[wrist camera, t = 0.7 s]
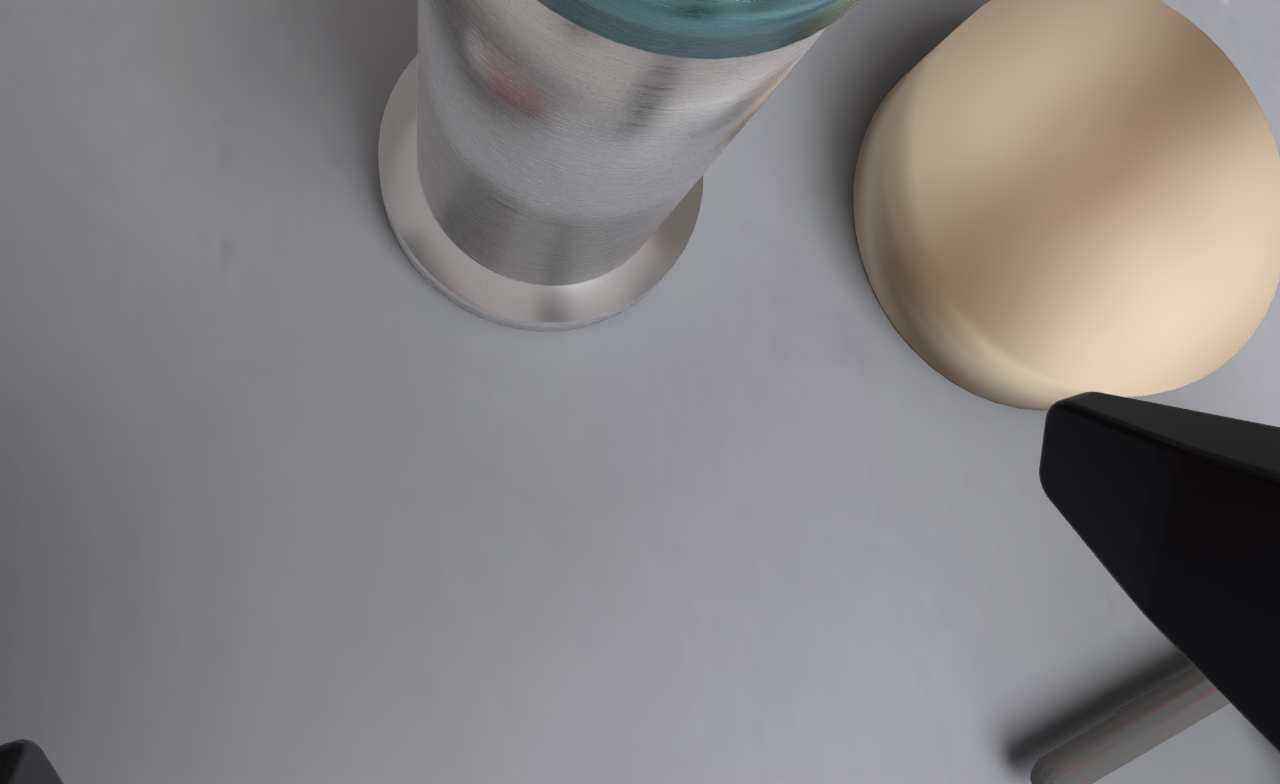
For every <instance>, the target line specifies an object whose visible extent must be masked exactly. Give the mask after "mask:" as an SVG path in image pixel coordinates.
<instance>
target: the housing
mask: <svg viewBox="0 0 1280 784" xmlns="http://www.w3.org/2000/svg"><path fill="white" fill-rule="evenodd" d="M859 1H860V0H418V54H417V55H416V56H415V57H414V58H413V59H412V61H411V62H410V63H409V64H408V66H407V67H406V68H405V69H404V71H403V72H402V74H401V76H400V77H399V79H398V81H397V82H396V84H395V86H394V88H393V89H392V92H391V94H390V97H389V99H388V102H387V104H386V107H385V110H384V114H383V118H382V122H381V126H380V133H379V144H378V161H379V176H380V186H381V192H382V197H383V202H384V208H385V211H386V214H387V217H388V220H389V223H390V226H391V228H392V230H393V232H394V234H395V236H396V238H397V240H398V242H399V244H400V247H401V248H402V250H403V251H404V253H405V254H406V256H407V257H408V259H409V260H410V262H411V263H412V264H413V266H414V267H415V268H416V269H417V270H418V271H419V273H420V274H421V275H422V276H423V277H424V278H425V279H426V281H428V282H429V283H430V284H431V285H432V286H433V287H434V288H435V289H437V290H438V291H439V292H440V293H441V294H442V295H443V296H445V297H446V298H448V299H449V300H451V301H452V302H454V303H455V304H457V305H458V306H460V307H461V308H463V309H465V310H467V311H469V312H471V313H473V314H475V315H477V316H479V317H481V318H484V319H486V320H489V321H492V322H495V323H497V324H500V325H505V326H509V327H514V328H518V329H525V330H536V331H558V330H567V329H573V328H579V327H584V326H587V325H590V324H594V323H597V322H600V321H603V320H605V319H607V318H609V317H611V316H613V315H616V314H618V313H620V312H621V311H623V310H624V309H626V308H628V307H629V306H631V305H632V304H634V303H635V302H637V301H638V300H639V299H640V298H641V297H642V296H644V295H645V294H646V293H647V292H648V291H649V290H650V289H652V288H653V287H654V286H655V285H656V284H657V283H658V282H659V281H660V280H661V279H662V278H663V276H664V275H665V274H666V273H667V272H668V271H669V270H670V269H671V267H672V266H673V265H674V264H675V262H676V261H677V259H678V258H679V256H680V255H681V253H682V252H683V250H684V249H685V247H686V245H687V243H688V240H689V238H690V236H691V234H692V232H693V230H694V227H695V223H696V220H697V217H698V214H699V210H700V204H701V198H702V192H703V174H704V173H705V172H706V170H707V169H708V168H709V167H710V166H711V164H712V163H713V162H714V161H715V160H716V158H717V157H718V156H719V155H720V154H721V153H722V151H723V150H724V149H725V148H726V147H727V145H728V144H729V143H730V142H731V141H732V139H733V138H734V137H735V136H736V135H737V133H738V132H739V131H740V130H741V129H742V128H743V126H744V125H745V124H746V123H747V122H748V120H749V119H750V118H751V117H752V116H753V114H754V113H755V112H756V111H757V110H758V109H759V107H760V106H761V105H762V104H763V103H764V101H765V100H766V99H767V98H768V97H769V95H770V94H771V93H772V92H773V91H774V89H775V88H776V87H777V86H778V85H779V84H780V82H781V81H782V80H783V79H784V78H785V76H786V75H787V74H788V73H789V72H790V70H791V69H792V68H793V67H794V66H795V64H796V63H797V62H798V61H799V60H800V59H801V57H802V56H803V55H804V54H805V53H806V51H807V50H808V49H809V48H810V47H811V45H812V44H813V43H814V42H815V41H816V40H817V38H818V37H819V36H820V35H821V34H822V32H823V31H824V30H825V29H826V28H827V26H829V25H831V24H832V23H834V22H835V21H836V20H838V19H839V18H840V17H841V16H843V15H844V14H845V13H846V12H848V11H849V10H850V9H851V8H852V7H854V6H855V5H856V4H857V3H858V2H859Z"/></svg>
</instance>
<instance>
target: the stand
mask: <svg viewBox="0 0 1280 784" xmlns="http://www.w3.org/2000/svg"><path fill="white" fill-rule="evenodd" d="M853 212H854V222H855V231H856V237H857V241H858V246H859V250H860V254H861V259H862V262H863V265H864V267H865V270H866V273H867V276H868V278H869V281H870V284H871V286H872V288H873V290H874V292H875V294H876V296H877V298H878V300H879V302H880V304H881V306H882V308H883V310H884V311H885V313H886V314H887V316H888V317H889V319H890V320H891V322H892V323H893V325H894V326H895V328H896V330H897V331H898V332H899V333H900V334H901V336H902V337H903V338H904V339H905V340H906V342H907V343H908V344H909V345H910V346H911V348H912V349H913V350H914V351H915V352H916V353H917V354H918V355H919V356H920V357H922V358H923V359H924V360H925V361H926V362H927V363H928V364H929V365H930V366H931V367H932V368H934V369H935V370H936V371H938V372H939V373H940V374H942V375H943V376H945V377H946V378H947V379H949V380H950V381H951V382H953V383H955V384H956V385H958V386H960V387H962V388H964V389H966V390H967V391H969V392H971V393H973V394H975V395H977V396H980V397H982V398H985V399H988V400H990V401H993V402H995V403H999V404H1003V405H1007V406H1011V407H1016V408H1021V409H1032V410H1049V409H1050V407H1051V405H1053V404H1054V403H1055V402H1057V401H1059V400H1062V399H1065V398H1068V397H1071V396H1074V395H1077V394H1080V393H1084V392H1091V391H1094V392H1101V393H1106V394H1111V395H1116V396H1121V397H1126V398H1133V397H1139V396H1145V395H1151V394H1156V393H1160V392H1165V391H1170V390H1174V389H1178V388H1180V387H1183V386H1185V385H1188V384H1190V383H1193V382H1195V381H1198V380H1200V379H1201V378H1203V377H1205V376H1206V375H1208V374H1210V373H1211V372H1213V371H1215V370H1216V369H1218V368H1219V367H1220V366H1222V365H1223V364H1224V363H1225V362H1226V361H1228V360H1229V359H1230V358H1231V357H1233V356H1234V355H1235V354H1236V353H1237V352H1238V351H1239V350H1240V348H1241V347H1242V346H1243V345H1244V344H1245V343H1246V342H1247V341H1248V339H1249V338H1250V337H1251V336H1252V334H1253V333H1254V331H1255V330H1256V328H1257V327H1258V325H1259V324H1260V322H1261V321H1262V319H1263V318H1264V316H1265V314H1266V312H1267V310H1268V307H1269V305H1270V303H1271V301H1272V299H1273V297H1274V295H1275V292H1276V288H1277V285H1278V282H1279V279H1280V158H1279V154H1278V150H1277V147H1276V143H1275V141H1274V138H1273V135H1272V133H1271V130H1270V128H1269V125H1268V122H1267V120H1266V117H1265V116H1264V114H1263V112H1262V110H1261V108H1260V106H1259V104H1258V102H1257V100H1256V98H1255V96H1254V94H1253V92H1252V91H1251V89H1250V88H1249V86H1248V85H1247V83H1246V82H1245V80H1244V78H1243V77H1242V75H1241V74H1240V72H1239V71H1238V70H1237V68H1236V67H1235V66H1234V65H1233V63H1232V62H1231V61H1230V60H1229V58H1228V57H1227V56H1226V55H1225V53H1224V52H1223V51H1222V50H1221V49H1220V48H1219V47H1218V46H1217V45H1216V44H1215V43H1214V42H1213V41H1212V40H1211V39H1210V38H1209V37H1208V36H1207V35H1206V34H1205V33H1204V32H1203V31H1202V30H1201V29H1199V28H1198V27H1197V26H1196V25H1194V24H1193V23H1192V22H1191V21H1190V20H1188V19H1187V18H1186V17H1185V16H1183V15H1182V14H1180V13H1178V12H1177V11H1175V10H1174V9H1172V8H1171V7H1169V6H1168V5H1166V4H1165V3H1163V2H1161V1H1159V0H991V1H989V2H988V3H986V4H984V5H983V6H982V7H980V8H979V9H978V10H977V11H976V12H975V13H973V14H972V15H971V16H970V17H969V18H968V19H966V20H965V21H964V22H963V23H962V24H961V25H960V26H959V27H957V28H956V29H955V30H954V31H953V32H952V33H951V34H950V35H949V36H947V37H946V38H945V39H944V40H943V41H942V42H941V43H940V44H939V45H938V46H936V47H935V48H934V49H933V50H932V51H931V52H930V53H929V54H928V55H926V56H925V57H924V58H923V59H922V60H921V61H920V62H919V63H918V64H916V65H915V66H914V67H913V68H912V69H911V70H910V71H909V72H908V73H906V74H905V75H904V76H903V77H902V78H901V79H900V80H899V81H898V82H897V83H896V84H895V86H894V87H893V88H892V89H891V90H890V91H889V93H888V94H887V95H886V96H885V97H884V99H883V101H882V102H881V104H880V105H879V107H878V109H877V110H876V112H875V113H874V115H873V117H872V119H871V121H870V124H869V126H868V128H867V130H866V133H865V135H864V137H863V141H862V144H861V148H860V151H859V155H858V158H857V164H856V171H855V177H854V188H853Z"/></svg>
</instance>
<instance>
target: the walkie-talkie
mask: <svg viewBox="0 0 1280 784" xmlns="http://www.w3.org/2000/svg"><path fill="white" fill-rule="evenodd" d="M1229 703H1230V702H1229V701H1228V700H1227V699H1226V698H1225V697H1224V696H1223V695H1222V694H1221V693H1220V692H1219V691H1218V690H1217V689H1216V688H1215V687H1214V686H1213V685H1212V684H1211V683H1210V682H1209V681H1208V680H1207V679H1206V678H1205V677H1204V676H1203V675H1202V673H1201V672H1200V671H1199V670H1198V669H1197V668H1196V667H1195V668H1193V669H1191V670H1189V671H1188V672H1186V673H1184V674H1182V675H1181V676H1179V677H1177V678H1175V679H1173V680H1172V681H1170V682H1168V683H1166V684H1165V685H1163V686H1161V687H1159V688H1158V689H1156V690H1154V691H1152V692H1150V693H1149V694H1147V695H1145V696H1143V697H1142V698H1140V699H1138V700H1136V701H1134V702H1133V703H1131V704H1129V705H1127V706H1126V707H1124V708H1122V709H1120V710H1118V711H1117V714H1116V715H1114V716H1113V717H1111V718H1109V719H1107V720H1106V721H1104V722H1102V723H1100V724H1099V725H1097V726H1095V727H1094V728H1092V729H1090V730H1088V731H1087V732H1085V733H1083V734H1081V735H1080V736H1078V737H1076V738H1075V739H1073V740H1071V741H1069V742H1068V743H1066V744H1064V745H1062V746H1061V747H1059V748H1057V749H1055V750H1054V751H1052V752H1050V753H1049V754H1047V755H1045V756H1043V757H1042V758H1041V759H1039V760H1038V761H1037V763H1036V764H1035V766H1034V767H1033V769H1032V771H1031V777H1030V780H1031V782H1032V784H1092V783H1094V782H1096V781H1098V780H1099V779H1101V778H1103V777H1104V776H1106V775H1108V774H1109V773H1111V772H1113V771H1115V770H1116V769H1118V768H1120V767H1121V766H1123V765H1125V764H1127V763H1128V762H1130V761H1132V760H1133V759H1135V758H1137V757H1138V756H1140V755H1142V754H1144V753H1145V752H1147V751H1149V750H1150V749H1152V748H1154V747H1156V746H1157V745H1159V744H1161V743H1162V742H1164V741H1166V740H1167V739H1169V738H1171V737H1173V736H1174V735H1176V734H1178V733H1179V732H1181V731H1183V730H1185V729H1186V728H1188V727H1190V726H1191V725H1193V724H1195V723H1196V722H1198V721H1200V720H1202V719H1203V718H1205V717H1207V716H1208V715H1210V714H1212V713H1214V712H1215V711H1217V710H1219V709H1220V708H1222V707H1224V706H1225V705H1227V704H1229Z"/></svg>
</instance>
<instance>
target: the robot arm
mask: <svg viewBox="0 0 1280 784" xmlns="http://www.w3.org/2000/svg"><path fill="white" fill-rule="evenodd" d="M1039 476H1040V482H1041V485H1042V488H1043V490H1044V492H1045V494H1046V495H1047V497H1048V498H1049V499H1050V501H1051V502H1052V503H1053V504H1054V506H1055V507H1056V508H1057V509H1058V510H1059V512H1060V513H1061V514H1062V515H1063V517H1064V518H1065V519H1066V520H1067V521H1068V523H1069V524H1070V525H1071V526H1072V528H1073V529H1074V530H1075V531H1076V532H1077V534H1078V535H1079V536H1080V537H1081V539H1082V540H1083V541H1084V542H1085V544H1086V545H1087V546H1088V547H1089V548H1090V550H1091V551H1092V552H1093V553H1094V555H1095V556H1096V557H1097V558H1098V559H1099V561H1100V562H1101V563H1102V564H1103V566H1104V567H1105V568H1106V569H1107V570H1108V572H1109V573H1110V574H1111V575H1112V577H1113V578H1114V579H1115V580H1116V581H1117V583H1118V584H1119V585H1120V586H1121V588H1122V589H1123V590H1124V591H1125V592H1126V594H1127V595H1128V596H1129V597H1130V598H1131V600H1132V601H1133V602H1134V603H1135V604H1136V605H1137V607H1138V608H1139V609H1140V610H1141V611H1142V612H1143V614H1144V615H1145V616H1146V617H1147V618H1148V619H1149V620H1150V621H1151V622H1152V623H1153V624H1154V625H1155V626H1156V628H1157V629H1158V630H1159V631H1160V632H1161V633H1162V634H1163V635H1164V636H1165V637H1166V638H1167V639H1168V640H1169V641H1170V642H1171V643H1172V644H1173V645H1174V646H1175V647H1176V648H1177V649H1178V650H1179V651H1180V652H1181V653H1182V654H1183V655H1184V656H1185V657H1186V658H1187V659H1188V660H1189V661H1190V662H1191V663H1192V664H1193V665H1194V666H1195V667H1196V668H1197V669H1198V670H1199V671H1200V672H1201V673H1202V675H1203V676H1204V677H1205V678H1206V679H1207V680H1208V681H1209V682H1210V683H1211V684H1212V685H1213V686H1214V687H1215V688H1216V689H1217V690H1218V691H1219V692H1220V693H1221V694H1222V695H1223V696H1224V697H1225V698H1226V699H1227V700H1228V701H1229V702H1230V703H1231V704H1232V705H1233V706H1234V707H1235V708H1236V709H1237V710H1238V711H1239V712H1240V713H1241V714H1242V715H1243V716H1244V717H1245V718H1246V719H1247V720H1248V721H1249V722H1250V723H1251V724H1252V725H1253V726H1254V727H1255V728H1256V729H1257V730H1258V731H1259V732H1260V733H1261V734H1262V735H1263V736H1264V737H1265V738H1266V739H1267V740H1268V741H1269V742H1270V743H1271V744H1272V745H1273V747H1274V748H1275V749H1276V750H1277V751H1278V752H1279V753H1280V427H1275V426H1270V425H1265V424H1260V423H1255V422H1250V421H1245V420H1239V419H1234V418H1229V417H1224V416H1219V415H1214V414H1209V413H1203V412H1198V411H1193V410H1188V409H1183V408H1178V407H1173V406H1168V405H1162V404H1157V403H1152V402H1147V401H1142V400H1137V399H1132V398H1126V397H1121V396H1116V395H1111V394H1106V393H1101V392H1094V391H1091V392H1084V393H1080V394H1077V395H1074V396H1071V397H1068V398H1065V399H1062V400H1059V401H1057V402H1055V403H1054V404H1053V405H1051V407H1050V409H1049V410H1048V412H1047V415H1046V420H1045V428H1044V435H1043V443H1042V451H1041V459H1040V467H1039ZM0 784H63V782H62V781H61V779H60V777H59V776H58V774H57V773H56V771H55V769H54V768H53V766H52V765H51V763H50V761H49V760H48V758H47V757H46V755H45V754H44V752H43V751H42V749H41V748H40V747H39V746H38V745H37V744H36V743H34V742H33V741H31V740H25V739H20V740H16V741H13V742H10V743H6V744H3V745H0Z"/></svg>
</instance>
